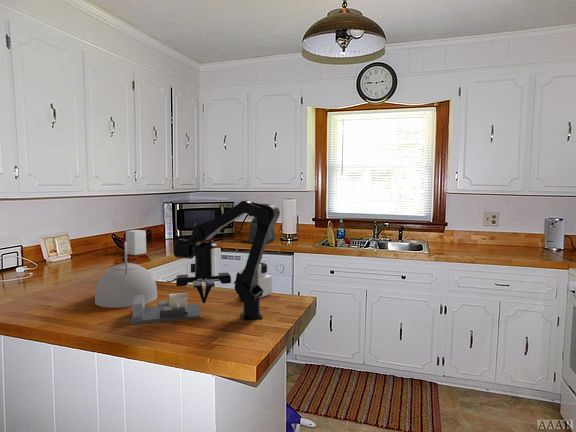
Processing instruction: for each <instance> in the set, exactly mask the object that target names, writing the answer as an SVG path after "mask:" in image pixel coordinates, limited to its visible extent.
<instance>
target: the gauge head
mask: <svg viewBox="0 0 576 432" xmlns="http://www.w3.org/2000/svg"><path fill="white" fill-rule="evenodd" d="M168 299H169V300H166V301H157V304H156V306H157V307H160V306H169V307H172V308H180V307H185V312H188V304H189V302H188V300H189V298H188V292H180V293H169V298H168Z"/></svg>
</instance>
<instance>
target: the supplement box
mask: <svg viewBox="0 0 576 432" xmlns="http://www.w3.org/2000/svg"><path fill="white" fill-rule="evenodd" d="M146 237H147V231H146V230H140V229H132V230H125V242H127V255H132V256H138V255H145V254H147V238H146Z"/></svg>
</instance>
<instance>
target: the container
mask: <svg viewBox="0 0 576 432" xmlns="http://www.w3.org/2000/svg"><path fill="white" fill-rule="evenodd" d="M257 284H258V285H259V286H260V287H261V288H262V289H263V291H264V292H263V294H262V296H261V297H259V298H260V299H261V298H263V297H266V296H269V295H272V293H273V275H271V274H270V275H269V274H268V264H267V263H265V262H261V261H260V264H259V268H258V283H257Z"/></svg>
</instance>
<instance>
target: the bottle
mask: <svg viewBox="0 0 576 432" xmlns="http://www.w3.org/2000/svg"><path fill="white" fill-rule="evenodd" d="M262 204H263V205H270V203H262ZM256 219H257V217H253V218H252V220H251V221H250V225H249V229H248V230H249V231H248V236H247V241H249V242H250V243H251V244H253V240H254V237H255V234H256V231H257V224H256ZM275 231H276V230H275V226H274V227H273V228H272V230H271V231H270V233H269V236H268V239H267V242H266V243H267V244H269V243H268V242H270V243H272V242H273V241H275V239H276V238H277V236H276V232H275Z"/></svg>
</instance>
